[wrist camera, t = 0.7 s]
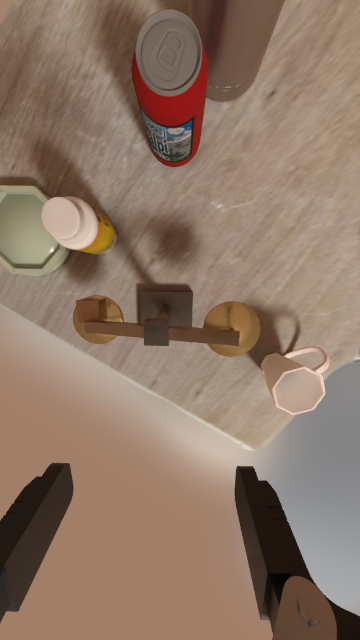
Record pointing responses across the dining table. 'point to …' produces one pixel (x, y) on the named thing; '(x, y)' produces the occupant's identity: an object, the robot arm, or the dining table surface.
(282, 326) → the dining table surface
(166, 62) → the beverage can
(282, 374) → the cup
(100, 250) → the supplement bottle
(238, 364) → the dining table surface
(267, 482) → the robot arm
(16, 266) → the dish
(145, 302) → the balance
